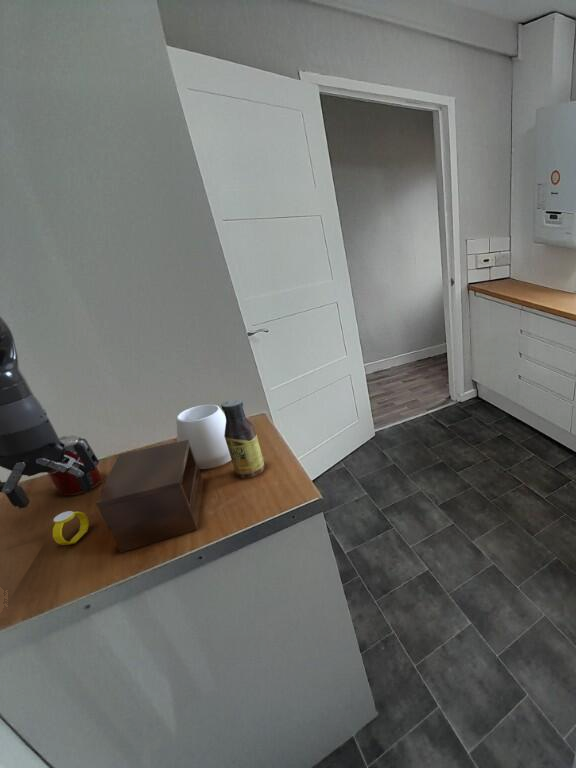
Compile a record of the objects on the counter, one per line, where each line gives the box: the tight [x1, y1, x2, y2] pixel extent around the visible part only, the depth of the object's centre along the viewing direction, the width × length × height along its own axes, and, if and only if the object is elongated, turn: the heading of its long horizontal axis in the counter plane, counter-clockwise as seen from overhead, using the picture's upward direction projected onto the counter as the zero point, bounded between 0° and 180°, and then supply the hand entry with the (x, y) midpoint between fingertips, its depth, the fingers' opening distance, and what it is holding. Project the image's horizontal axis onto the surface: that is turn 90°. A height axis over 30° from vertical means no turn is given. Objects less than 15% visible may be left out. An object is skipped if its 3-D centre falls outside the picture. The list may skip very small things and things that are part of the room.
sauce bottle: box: [220, 398, 266, 479], centre depth 97 cm, size 7×6×20 cm
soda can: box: [46, 434, 103, 496], centre depth 93 cm, size 7×7×12 cm
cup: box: [176, 404, 232, 470], centre depth 103 cm, size 13×13×14 cm
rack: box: [95, 440, 204, 554], centre depth 85 cm, size 12×18×12 cm, turn 31°
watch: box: [52, 510, 90, 546], centre depth 80 cm, size 6×3×6 cm, turn 7°
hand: (57, 497), depth 77 cm, fingers open, 8 cm apart
